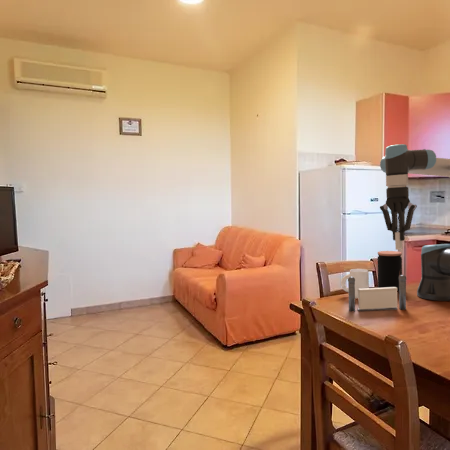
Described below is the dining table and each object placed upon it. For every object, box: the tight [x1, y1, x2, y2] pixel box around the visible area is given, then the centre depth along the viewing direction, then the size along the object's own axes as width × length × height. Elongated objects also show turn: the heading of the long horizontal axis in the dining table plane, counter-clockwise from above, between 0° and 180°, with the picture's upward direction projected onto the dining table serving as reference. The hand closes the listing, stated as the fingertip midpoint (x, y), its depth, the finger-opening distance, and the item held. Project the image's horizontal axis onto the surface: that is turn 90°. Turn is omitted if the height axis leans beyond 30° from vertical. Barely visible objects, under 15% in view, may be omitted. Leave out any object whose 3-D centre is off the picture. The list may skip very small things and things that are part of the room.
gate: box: [357, 287, 398, 309], centre depth 147 cm, size 15×2×8 cm, turn 92°
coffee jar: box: [377, 250, 403, 292], centre depth 178 cm, size 11×11×18 cm
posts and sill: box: [347, 274, 407, 312], centre depth 147 cm, size 23×3×14 cm, turn 89°
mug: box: [340, 268, 370, 299], centre depth 168 cm, size 8×12×12 cm
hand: (399, 249), depth 141 cm, fingers closed
